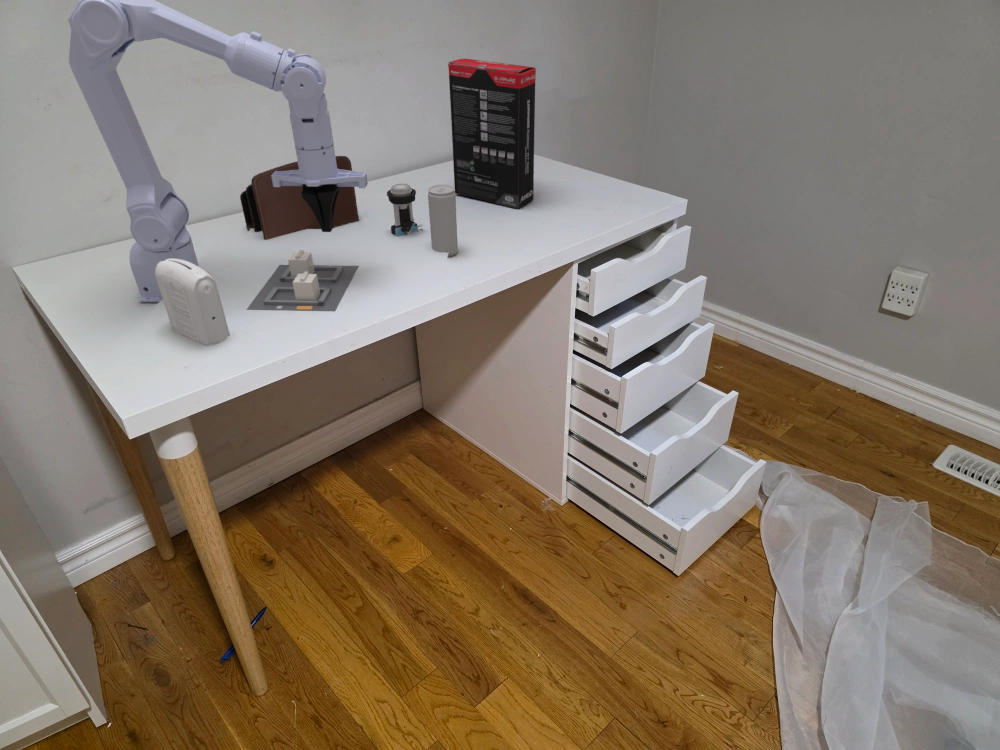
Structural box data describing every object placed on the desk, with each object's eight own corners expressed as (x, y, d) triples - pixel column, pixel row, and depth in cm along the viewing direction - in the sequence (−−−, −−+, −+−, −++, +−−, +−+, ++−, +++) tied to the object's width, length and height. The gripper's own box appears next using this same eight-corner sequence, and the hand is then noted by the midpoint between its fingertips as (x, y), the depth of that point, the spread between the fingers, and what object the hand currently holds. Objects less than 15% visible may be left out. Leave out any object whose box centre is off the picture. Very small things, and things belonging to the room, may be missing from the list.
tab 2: (292, 279, 116) (287, 257, 114) (297, 271, 119) (293, 249, 116) (309, 279, 116) (305, 257, 114) (314, 271, 118) (310, 249, 116)
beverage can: (427, 256, 126) (422, 192, 119) (438, 245, 130) (434, 183, 123) (452, 259, 124) (448, 195, 118) (462, 249, 128) (459, 185, 121)
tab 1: (296, 302, 109) (291, 279, 107) (302, 293, 112) (297, 270, 110) (315, 302, 109) (310, 279, 107) (320, 293, 112) (316, 271, 109)
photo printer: (236, 342, 102) (216, 265, 95) (211, 355, 99) (188, 277, 92) (194, 322, 107) (172, 248, 100) (169, 334, 104) (144, 259, 97)
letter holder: (360, 221, 140) (350, 151, 133) (266, 247, 131) (250, 173, 123) (337, 207, 147) (327, 140, 139) (246, 231, 137) (230, 159, 129)
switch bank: (248, 316, 108) (245, 306, 107) (281, 270, 122) (279, 261, 121) (336, 317, 108) (334, 307, 107) (359, 272, 121) (358, 262, 120)
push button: (415, 228, 137) (411, 178, 131) (430, 236, 133) (427, 185, 128) (386, 237, 133) (380, 186, 128) (401, 245, 130) (396, 194, 124)
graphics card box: (536, 200, 148) (538, 63, 133) (519, 211, 143) (519, 70, 128) (470, 187, 156) (465, 55, 140) (452, 196, 151) (445, 61, 136)
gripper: (258, 152, 102) (276, 238, 109) (355, 153, 101) (366, 240, 109) (274, 138, 108) (289, 221, 115) (366, 139, 107) (375, 223, 114)
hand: (327, 229), depth 112 cm, fingers closed
